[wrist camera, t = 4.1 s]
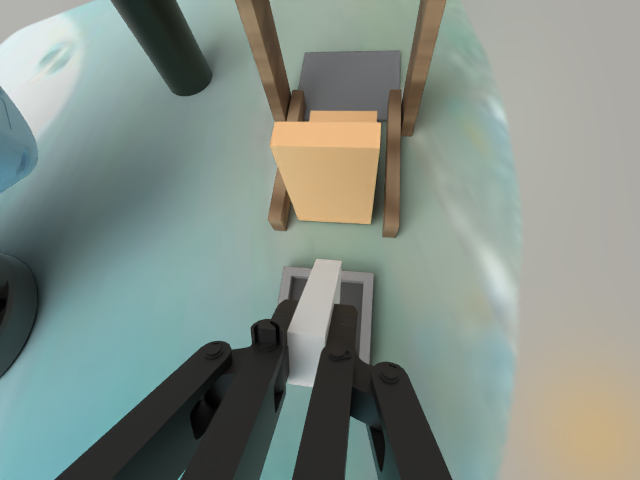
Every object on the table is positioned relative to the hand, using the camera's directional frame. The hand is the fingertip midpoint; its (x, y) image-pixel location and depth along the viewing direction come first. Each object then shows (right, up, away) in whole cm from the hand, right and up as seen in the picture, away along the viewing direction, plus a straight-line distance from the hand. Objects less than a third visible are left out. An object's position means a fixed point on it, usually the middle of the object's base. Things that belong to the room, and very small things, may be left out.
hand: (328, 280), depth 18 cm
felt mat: (+3, +21, +18) cm, 28 cm away
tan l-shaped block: (+2, +9, +14) cm, 17 cm away
